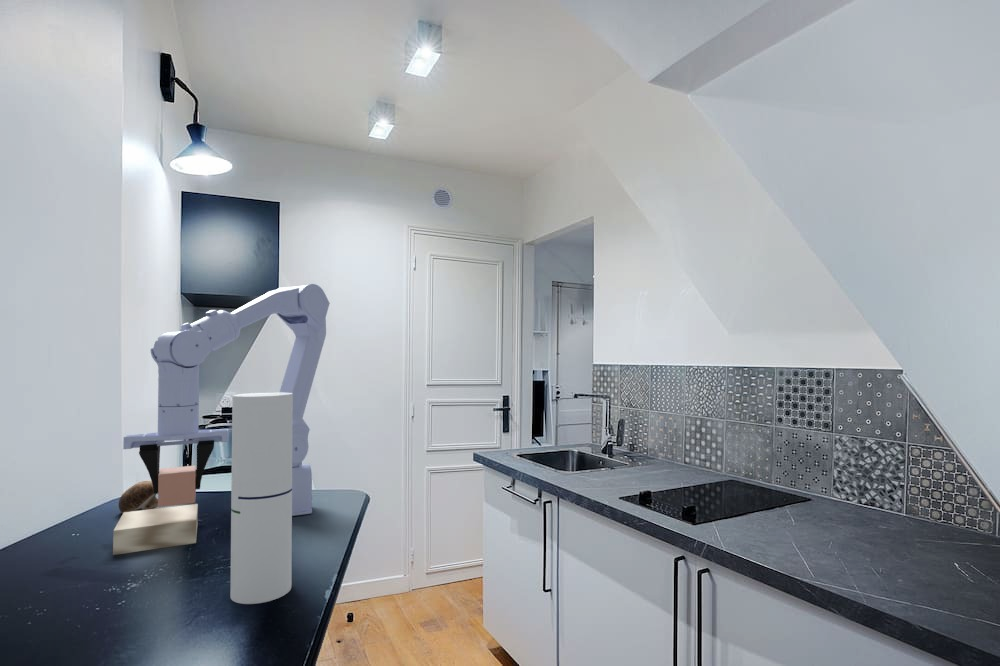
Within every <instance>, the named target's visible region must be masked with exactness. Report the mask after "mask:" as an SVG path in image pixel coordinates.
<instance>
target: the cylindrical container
mask: <svg viewBox="0 0 1000 666" xmlns="http://www.w3.org/2000/svg"><path fill="white" fill-rule="evenodd" d="M231 403H232V406H231V408H232V409H231V411H232V412H231V413H232V414H231V416H232V417H231V418H232V419H231V483H230V484H231V487H230V488H231V492H230V493H231V494H230V497H231V499H230V502H231V503H230V507H231V508H230V509H231V510H230V512H231V513H230V590H229V591H230V594H229V595H230V600H231V601H232V602H234V603H237V604H242V605H254V604H255V605H256V604H262V603H267V602H271V601H273V600H276V599H279V598H281V597H283V596H286V594H287V595H288V593H289V592H290V591H291V590H292V578H293V577H292V574H293V573H292V571H293V570H292V567H293V566H292V563H293V562H292V557H293V556H292V553H293V551H292V547H293V544H292V543H293V542H292V541H293V540H292V539H293V538H292V536H293V535H292V533H293V530H292V529H293V522H292V521H293V520H292V519H293V516H292V420H293V393H285V392H280V391H277V392H274V391H273V392H249V393H248V392H247V393H238V394H232V402H231Z"/></svg>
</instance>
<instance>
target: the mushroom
mask: <svg viewBox="0 0 1000 666" xmlns="http://www.w3.org/2000/svg"><path fill="white" fill-rule="evenodd" d="M156 496H157V494H154V490H153V485H152V481H151V480H142V481H139V482H137V483H135V484H133V485H132V486H130V487H129V488H128V489H126V490H125V491H124V492H123V493H122V494H121V496H120V498H119V499H118V509H119V511H120V513H121V514H123V513H124V512H131V511H139V510H149V509H157V508H159V507H158V497H156Z"/></svg>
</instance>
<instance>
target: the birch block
mask: <svg viewBox="0 0 1000 666" xmlns="http://www.w3.org/2000/svg"><path fill="white" fill-rule="evenodd" d="M198 509H199V504H198V503H190V504H182V505H173V506H165V507H156V508H154V509H149V510H143V509H139V510H135V511H131V512H124V513H122V515H121V516H120V518H119V520H118V522H117V523H116V525H115V527H114V529H113V533H112V535H113V539H112V555H113V556H115V555H122V554H130V553H136V552H137V553H138V552H142V551H150V550H157V549H162V548H163V549H164V548H170V547H177V546H185V545H191V544H196V543H197V537H198V536H197V534H198V524H199V523H198V521H199V520H198V517H199V516H198V515H199V510H198Z"/></svg>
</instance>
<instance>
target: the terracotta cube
mask: <svg viewBox="0 0 1000 666" xmlns="http://www.w3.org/2000/svg"><path fill="white" fill-rule="evenodd" d="M196 471H197V464H196V465H185V466H177V467H176V466H175V467H165V468H160V469H159V475H158V494H157V499H158V507H157V508H166V507H174V506H182V505H190V504H196V496H197V495H196V494H197V493H196V492H197V489H195V480H196Z"/></svg>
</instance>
